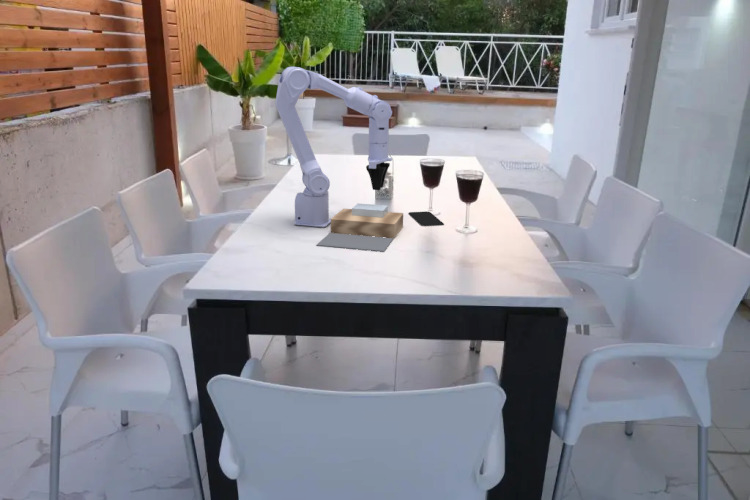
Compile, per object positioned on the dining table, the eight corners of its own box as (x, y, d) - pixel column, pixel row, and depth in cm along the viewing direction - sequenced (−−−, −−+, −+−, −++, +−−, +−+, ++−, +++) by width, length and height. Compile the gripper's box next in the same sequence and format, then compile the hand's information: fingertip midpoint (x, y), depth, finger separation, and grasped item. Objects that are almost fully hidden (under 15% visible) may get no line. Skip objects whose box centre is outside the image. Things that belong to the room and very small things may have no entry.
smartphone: (421, 225, 171) (407, 212, 185) (421, 227, 171) (407, 214, 185) (445, 224, 172) (429, 211, 186) (445, 226, 173) (429, 213, 186)
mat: (316, 245, 152) (316, 244, 152) (329, 233, 163) (329, 232, 163) (384, 252, 148) (384, 250, 148) (393, 239, 159) (393, 238, 158)
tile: (351, 215, 166) (351, 208, 166) (357, 210, 172) (357, 203, 171) (382, 217, 164) (383, 210, 164) (387, 212, 170) (387, 205, 169)
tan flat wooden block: (330, 232, 164) (330, 218, 162) (343, 221, 175) (343, 208, 173) (394, 238, 159) (394, 224, 158) (402, 226, 171) (403, 213, 169)
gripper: (386, 146, 163) (385, 194, 167) (397, 139, 176) (396, 184, 180) (361, 145, 164) (361, 193, 169) (374, 138, 178) (373, 183, 182)
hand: (377, 188), depth 175 cm, fingers open, 3 cm apart
